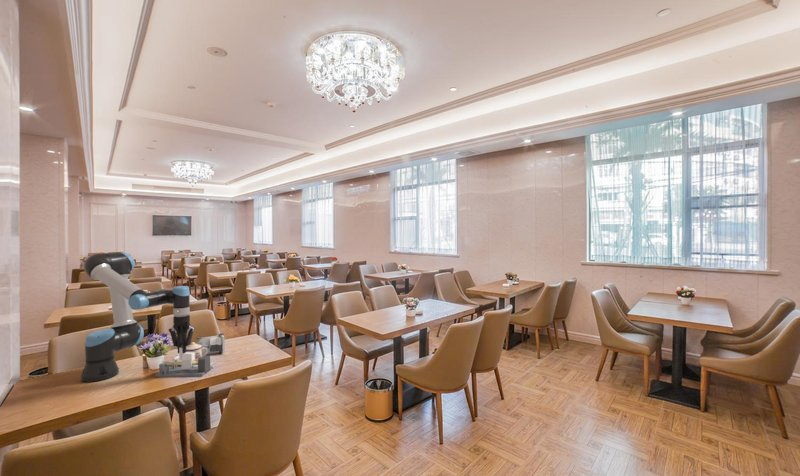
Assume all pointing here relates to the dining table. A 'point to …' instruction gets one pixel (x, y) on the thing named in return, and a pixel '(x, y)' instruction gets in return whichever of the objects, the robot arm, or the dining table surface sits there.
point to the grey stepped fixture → (185, 372)
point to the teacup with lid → (196, 350)
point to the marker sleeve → (188, 359)
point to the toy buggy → (212, 344)
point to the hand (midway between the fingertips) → (182, 359)
